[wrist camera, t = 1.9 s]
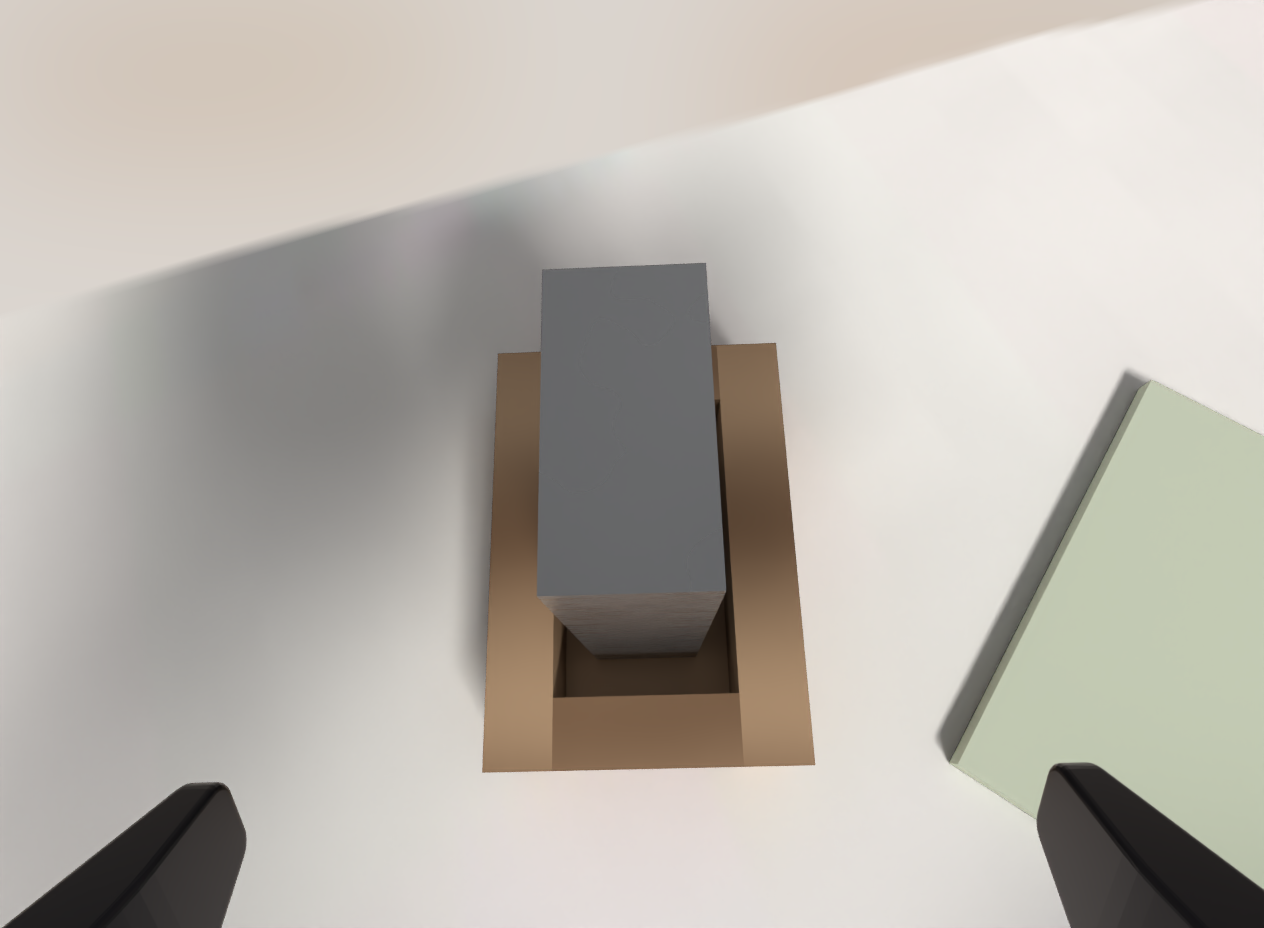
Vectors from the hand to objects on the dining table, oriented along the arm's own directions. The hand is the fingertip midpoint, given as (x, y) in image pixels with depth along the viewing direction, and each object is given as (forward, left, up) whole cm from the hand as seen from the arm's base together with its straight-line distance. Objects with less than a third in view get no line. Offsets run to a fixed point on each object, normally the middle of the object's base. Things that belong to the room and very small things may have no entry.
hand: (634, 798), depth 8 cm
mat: (+10, -12, -11) cm, 19 cm away
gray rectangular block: (+4, +3, -11) cm, 12 cm away
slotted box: (+4, +3, -11) cm, 12 cm away
